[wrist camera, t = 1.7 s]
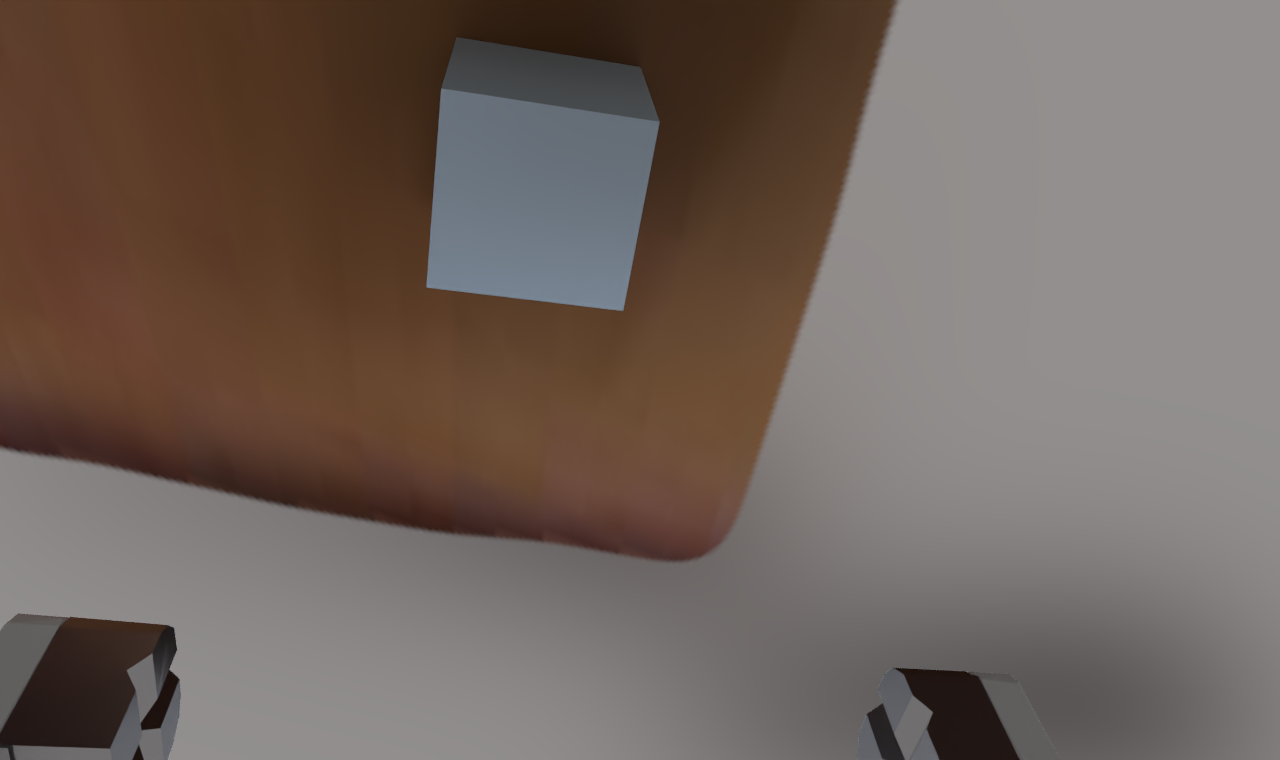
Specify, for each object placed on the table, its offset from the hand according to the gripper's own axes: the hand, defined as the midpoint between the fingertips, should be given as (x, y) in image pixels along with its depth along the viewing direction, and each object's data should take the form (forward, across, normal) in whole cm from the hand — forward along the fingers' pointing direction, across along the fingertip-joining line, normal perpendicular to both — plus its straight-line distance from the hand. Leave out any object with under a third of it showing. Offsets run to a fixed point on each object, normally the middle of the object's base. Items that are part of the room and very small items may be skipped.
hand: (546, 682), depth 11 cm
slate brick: (+19, 0, 0) cm, 19 cm away
